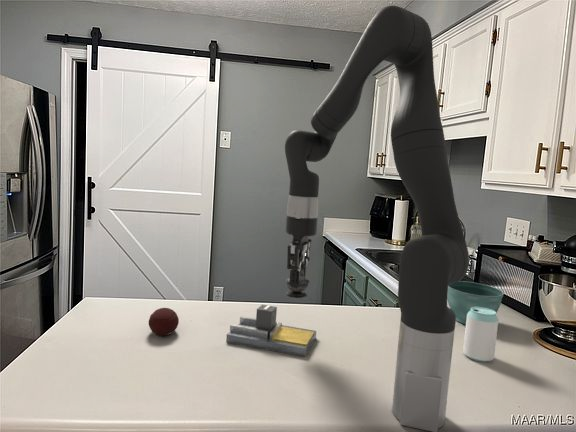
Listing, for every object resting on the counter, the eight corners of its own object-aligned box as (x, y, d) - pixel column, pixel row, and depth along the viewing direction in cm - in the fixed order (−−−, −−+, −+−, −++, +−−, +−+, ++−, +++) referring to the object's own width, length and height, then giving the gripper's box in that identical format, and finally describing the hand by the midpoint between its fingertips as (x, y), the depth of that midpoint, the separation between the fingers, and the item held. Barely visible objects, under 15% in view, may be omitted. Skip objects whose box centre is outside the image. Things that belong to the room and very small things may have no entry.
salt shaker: (280, 295, 101) (283, 246, 100) (291, 289, 106) (294, 243, 105) (302, 299, 98) (305, 250, 97) (312, 294, 104) (315, 247, 102)
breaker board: (304, 356, 97) (305, 342, 96) (225, 342, 102) (226, 328, 102) (315, 338, 108) (316, 325, 108) (244, 325, 114) (244, 313, 113)
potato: (145, 340, 100) (146, 315, 100) (151, 325, 110) (152, 302, 110) (176, 340, 102) (177, 316, 101) (180, 325, 111) (180, 302, 111)
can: (475, 364, 99) (481, 315, 98) (456, 351, 106) (461, 306, 104) (500, 362, 101) (506, 314, 99) (479, 350, 107) (484, 305, 106)
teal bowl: (511, 329, 125) (516, 294, 124) (470, 333, 119) (475, 297, 118) (470, 311, 140) (473, 280, 139) (432, 314, 134) (435, 282, 133)
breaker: (270, 335, 103) (271, 310, 102) (255, 332, 104) (256, 308, 104) (275, 329, 107) (276, 306, 106) (260, 326, 108) (262, 303, 107)
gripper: (295, 211, 108) (290, 274, 110) (278, 215, 94) (273, 287, 96) (323, 214, 106) (318, 278, 108) (310, 219, 92) (305, 292, 94)
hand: (297, 282), depth 102 cm, fingers closed on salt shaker, 6 cm apart
